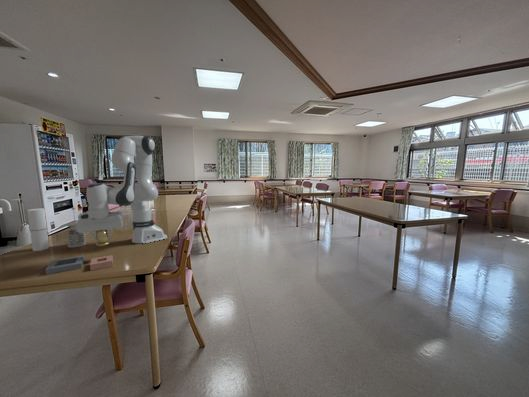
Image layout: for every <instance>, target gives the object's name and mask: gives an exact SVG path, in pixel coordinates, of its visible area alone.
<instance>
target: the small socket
mask: <svg viewBox="0 0 529 397" xmlns="http://www.w3.org/2000/svg"><path fill="white" fill-rule="evenodd" d="M110 267H111V268H112V267H114V256H113V254H111V255H105V256H99V257H93V258H91V259H90V264H89V269H90V271H95V270H101V269H106V268H110Z"/></svg>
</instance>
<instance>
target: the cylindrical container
mask: <svg viewBox="0 0 529 397" xmlns="http://www.w3.org/2000/svg"><path fill="white" fill-rule="evenodd" d="M27 216H28V224H29V232H30V233H29V234H30V238H31V239H30V240H31V248H32V251H33V252H38V251H44V250H47V249H49V248H50V244H49V236H48V228H47V227H48V226H47V220H46V213H45V208H43V207H42V208H31V209H27Z"/></svg>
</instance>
